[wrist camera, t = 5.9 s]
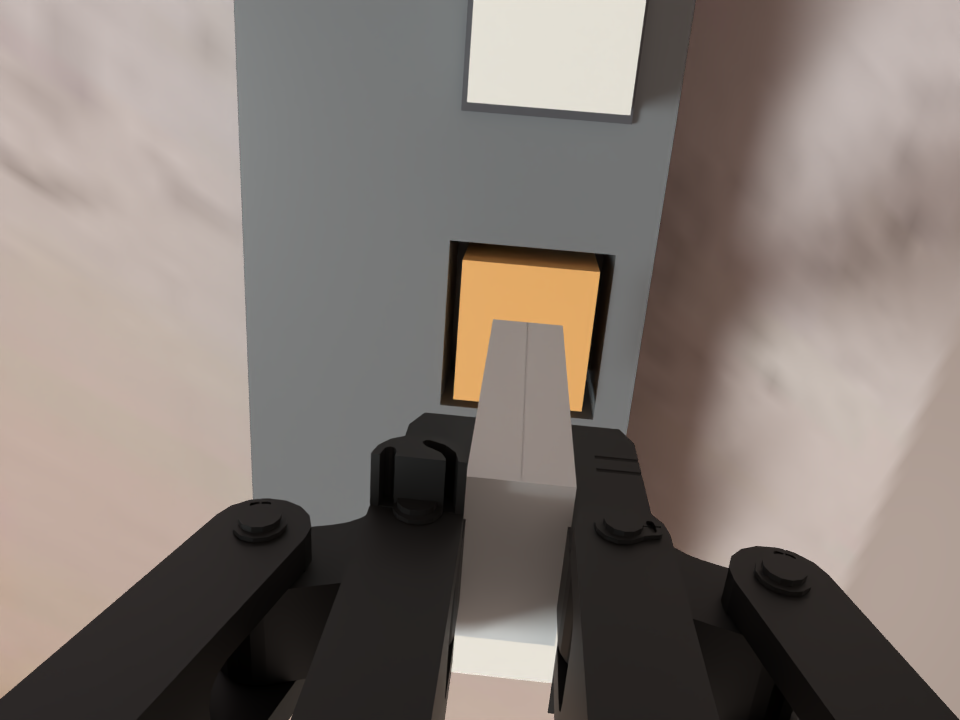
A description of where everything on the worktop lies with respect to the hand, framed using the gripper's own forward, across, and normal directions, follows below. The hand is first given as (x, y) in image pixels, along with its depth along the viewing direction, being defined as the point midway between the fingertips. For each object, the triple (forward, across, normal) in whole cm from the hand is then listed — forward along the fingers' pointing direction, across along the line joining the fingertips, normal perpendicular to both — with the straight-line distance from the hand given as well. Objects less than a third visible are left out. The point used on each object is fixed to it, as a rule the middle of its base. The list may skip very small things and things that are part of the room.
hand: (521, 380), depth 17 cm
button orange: (+7, 0, -1) cm, 7 cm away
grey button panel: (+9, -3, -1) cm, 9 cm away
